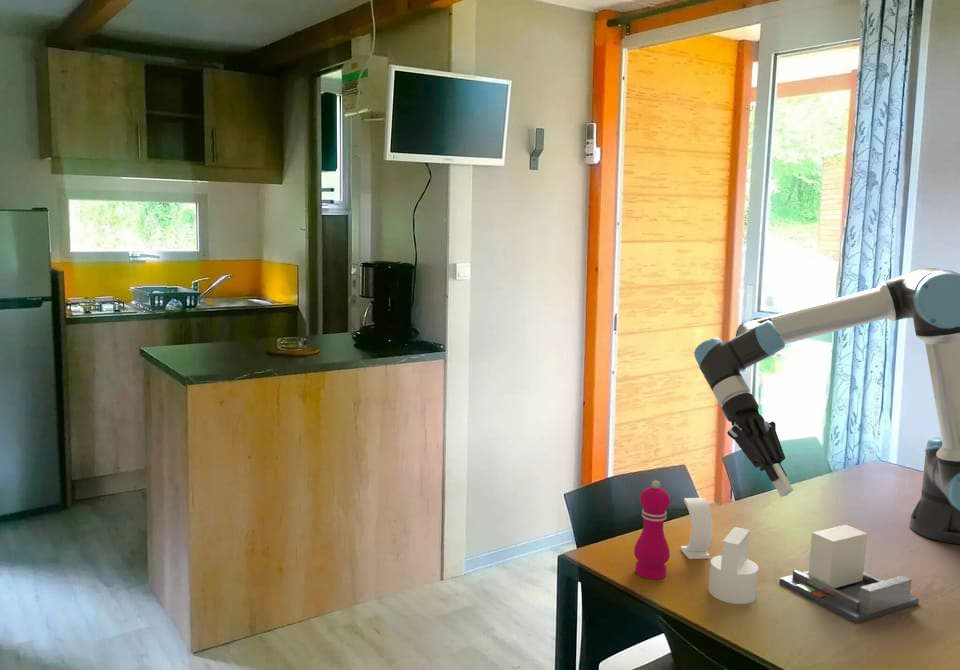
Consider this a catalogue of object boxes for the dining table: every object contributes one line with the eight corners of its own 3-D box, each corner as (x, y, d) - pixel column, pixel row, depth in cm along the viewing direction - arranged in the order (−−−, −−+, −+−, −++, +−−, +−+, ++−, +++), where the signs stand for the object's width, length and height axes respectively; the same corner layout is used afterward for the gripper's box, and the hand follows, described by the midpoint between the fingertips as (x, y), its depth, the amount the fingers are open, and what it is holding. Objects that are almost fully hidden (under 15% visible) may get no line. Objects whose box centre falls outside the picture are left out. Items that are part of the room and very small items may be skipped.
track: (839, 567, 173) (841, 542, 172) (918, 604, 157) (921, 576, 156) (779, 583, 165) (781, 557, 164) (856, 623, 149) (859, 594, 148)
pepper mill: (668, 582, 164) (674, 487, 161) (632, 578, 165) (638, 484, 162) (667, 567, 171) (673, 476, 168) (633, 563, 172) (638, 473, 169)
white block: (838, 569, 168) (842, 523, 167) (862, 580, 163) (867, 533, 162) (804, 577, 164) (808, 530, 162) (828, 589, 159) (833, 541, 157)
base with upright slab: (749, 608, 154) (754, 548, 152) (702, 595, 158) (706, 537, 157) (760, 590, 161) (765, 533, 160) (715, 578, 166) (719, 523, 164)
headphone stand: (700, 549, 181) (704, 497, 179) (710, 560, 175) (714, 507, 173) (680, 549, 180) (684, 498, 178) (690, 561, 174) (694, 507, 173)
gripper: (747, 406, 190) (797, 497, 178) (705, 411, 184) (754, 505, 172) (766, 389, 185) (819, 481, 173) (724, 393, 179) (776, 489, 167)
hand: (787, 493), depth 172 cm, fingers closed
